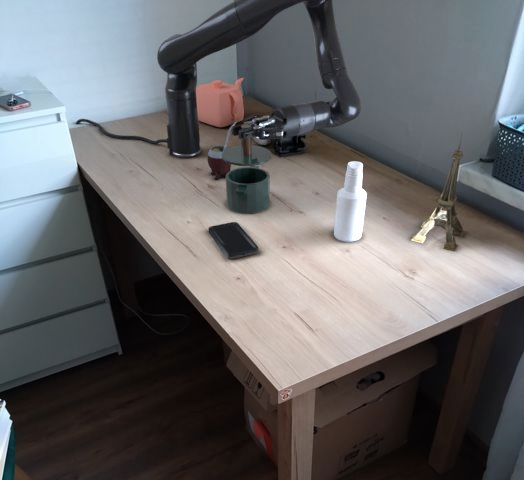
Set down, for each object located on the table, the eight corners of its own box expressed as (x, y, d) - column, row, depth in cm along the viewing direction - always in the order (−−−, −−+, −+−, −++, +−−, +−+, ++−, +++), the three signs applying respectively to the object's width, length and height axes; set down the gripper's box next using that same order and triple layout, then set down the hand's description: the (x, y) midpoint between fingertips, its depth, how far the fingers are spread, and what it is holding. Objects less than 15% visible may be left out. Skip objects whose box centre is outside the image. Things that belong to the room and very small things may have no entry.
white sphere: (279, 145, 181) (279, 122, 177) (260, 150, 178) (260, 127, 173) (262, 136, 188) (262, 114, 183) (244, 141, 185) (243, 118, 180)
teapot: (263, 119, 201) (263, 78, 193) (225, 132, 191) (223, 90, 182) (226, 107, 212) (224, 68, 203) (187, 119, 201) (184, 79, 192)
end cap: (297, 145, 182) (298, 124, 177) (307, 152, 177) (308, 131, 172) (269, 149, 179) (270, 128, 174) (278, 157, 174) (278, 135, 169)
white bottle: (363, 231, 137) (373, 160, 125) (358, 244, 132) (367, 171, 120) (337, 227, 138) (343, 156, 127) (330, 239, 134) (336, 167, 122)
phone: (236, 221, 138) (259, 248, 128) (236, 225, 139) (259, 253, 129) (206, 227, 136) (228, 255, 126) (207, 231, 137) (228, 260, 126)
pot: (219, 216, 143) (218, 187, 138) (235, 189, 156) (234, 161, 150) (262, 220, 141) (262, 190, 136) (274, 192, 154) (275, 164, 149)
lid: (216, 166, 137) (214, 132, 131) (229, 147, 146) (228, 116, 141) (265, 170, 135) (265, 136, 129) (275, 151, 144) (276, 119, 139)
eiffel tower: (454, 251, 129) (482, 145, 113) (411, 240, 133) (431, 136, 117) (465, 232, 136) (492, 129, 120) (424, 222, 140) (444, 121, 124)
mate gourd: (204, 178, 162) (200, 126, 152) (217, 168, 167) (214, 117, 157) (226, 182, 159) (224, 130, 149) (239, 172, 165) (237, 121, 155)
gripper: (278, 98, 144) (221, 109, 137) (310, 112, 135) (250, 125, 128) (277, 127, 149) (222, 140, 142) (308, 143, 140) (251, 157, 133)
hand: (236, 133), depth 135 cm, fingers closed on lid, 2 cm apart
